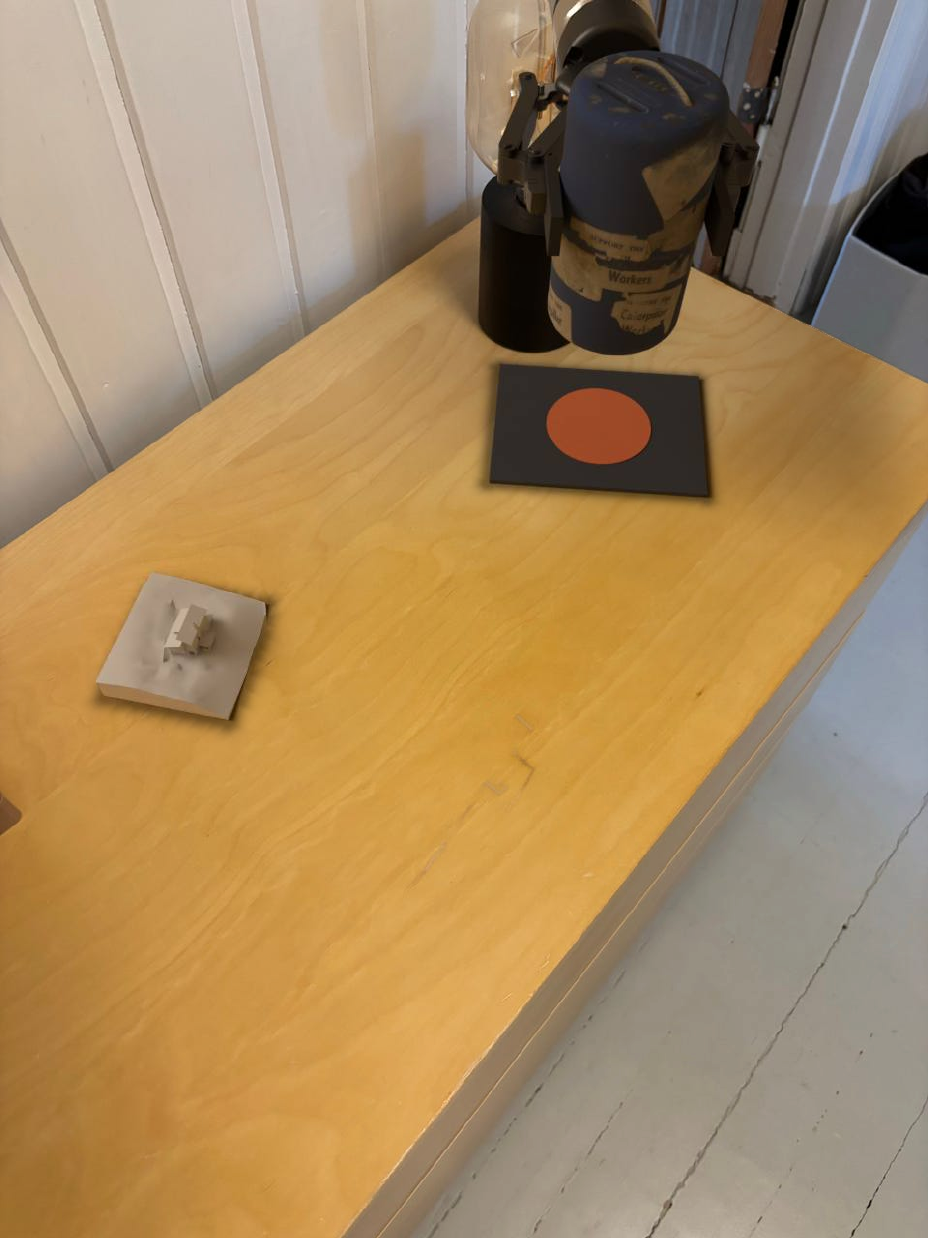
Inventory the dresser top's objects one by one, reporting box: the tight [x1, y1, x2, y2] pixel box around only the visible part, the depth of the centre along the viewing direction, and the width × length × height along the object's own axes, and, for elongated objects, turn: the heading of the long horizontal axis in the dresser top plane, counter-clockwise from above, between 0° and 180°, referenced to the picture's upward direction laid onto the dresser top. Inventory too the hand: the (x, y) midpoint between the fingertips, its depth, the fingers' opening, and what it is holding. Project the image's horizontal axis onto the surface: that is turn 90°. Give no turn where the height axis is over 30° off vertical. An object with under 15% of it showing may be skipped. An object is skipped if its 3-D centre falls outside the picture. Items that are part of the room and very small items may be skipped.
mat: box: [488, 363, 709, 498], centre depth 81 cm, size 18×14×1 cm
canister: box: [547, 51, 731, 356], centre depth 60 cm, size 10×10×18 cm
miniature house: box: [94, 571, 267, 721], centre depth 67 cm, size 12×11×4 cm
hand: (639, 237), depth 57 cm, fingers closed on canister, 10 cm apart
